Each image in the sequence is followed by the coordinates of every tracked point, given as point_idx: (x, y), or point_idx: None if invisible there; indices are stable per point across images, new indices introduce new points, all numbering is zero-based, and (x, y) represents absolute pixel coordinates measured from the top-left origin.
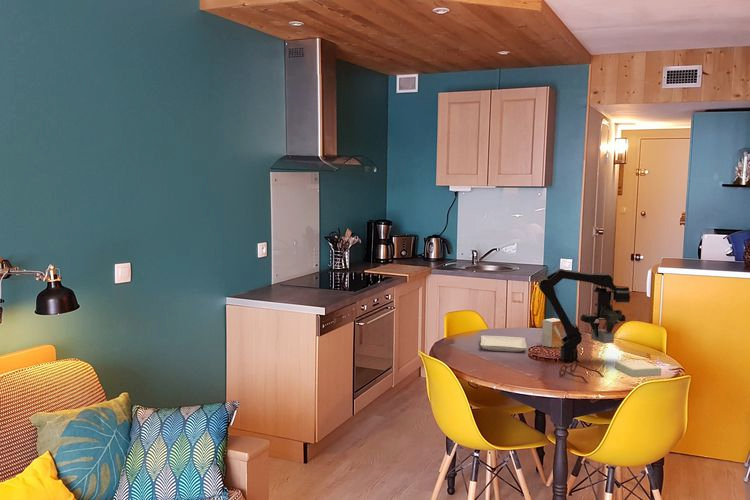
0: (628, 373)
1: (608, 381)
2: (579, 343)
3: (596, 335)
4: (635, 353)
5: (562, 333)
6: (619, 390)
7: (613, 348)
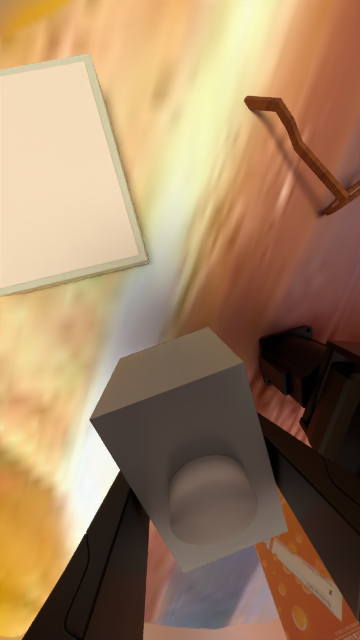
0: (114, 137)
1: (252, 6)
2: (332, 365)
3: (265, 420)
4: (11, 471)
5: (264, 565)
6: None
7: (81, 512)
